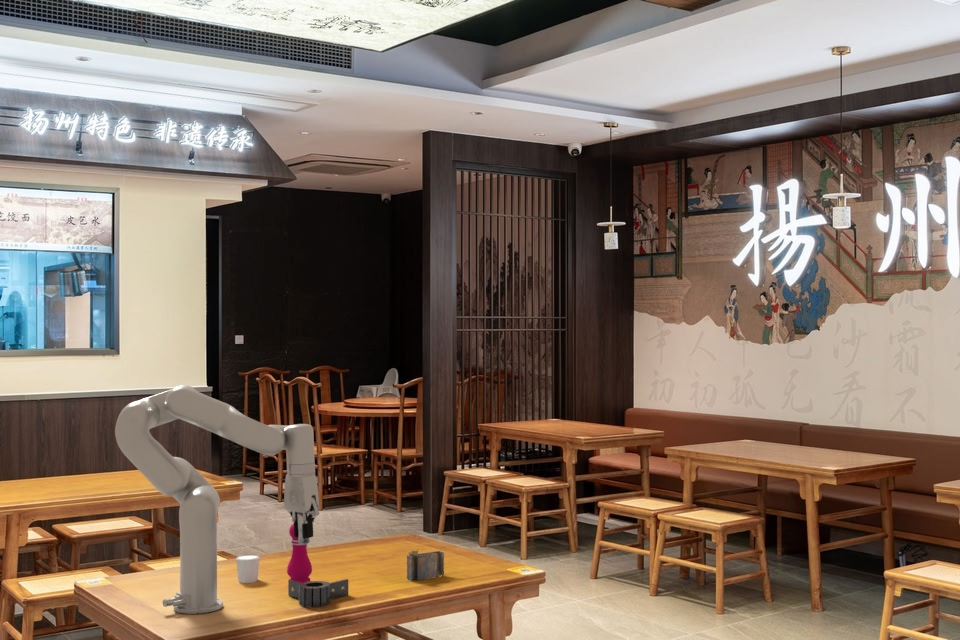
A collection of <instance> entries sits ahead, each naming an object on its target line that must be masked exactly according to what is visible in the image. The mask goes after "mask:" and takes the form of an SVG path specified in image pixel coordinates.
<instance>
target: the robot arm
mask: <svg viewBox="0 0 960 640" xmlns="http://www.w3.org/2000/svg"><path fill="white" fill-rule="evenodd" d="M176 420H182V422H183V421H184V422H187V423H189V424H191V425H194V426H196V427H199V428H201V429H203V430H206V431H208V432H211V433H213V434H215V435H218V436H219V437H221V438H224V439H227V440H229V441H231V442H233V443H236V444H238V445H240V446H242V447H244V448H247V449H249V450H251V451H255V452H256V453H260V454H262V455H265V456H274V455H275V456H276V455H277V454H279V453H280V452H281V451H283V450H285V452H286V453H285V454H286V456H285V457H286V475H285V479H284V491H283V492H284V493H283V494H284V496H283V497H284V501H283V503H284V505H283V506H284V509H285V510H286V512H287V513H289V515H290V517H291V521H292V523H294V537H298V518H297V513H303V522H304V524H302V534H303V539H306V538H313V537H314V522H315V519H316V517H318V516H319V515H320V511H319V508H320V507H319V506H320V505H319V503H320V501H319V499H320V498H319V487H318V481H317V476H316V464H315V460H316V459H315V441H314V440H315V439H314V437H315V436H314V427H313V426H312V425H311V424H308V423H297V424H296V423H295V424H291V425H285V424H284V425H283V424H268V425H267V424H264V423H263V422H260V421H258V420H256V419H253V418H251V417H249V416H247V415H245V414H243V413H242V412H240V411H239V410H238V409H236V408H235V407H234V406H232V405H230V404H229V403H227V402H223V401H221V400H219V399H216V398H213V397H211V396H208V395H206V394H204V393H202V392H200V391H197V390H196V389H195V387H192V386H190V385H186V384H184V385H183V384H182V385H178V386H175V387H173V388H171V389H168V390H166V391H163V392H160V393H157V394H153V395H151V396H148V397H144V398H141V399H139V400H135V401H132V402H129V403H128V404H127V405H125V407H123V408H122V410H121V411H120V413H119V415H118V417H117V420H116V423H115V427H114V428H115V429H114V435H115V440H116V443H117V446H118V448H119V449H120V451H121V452H122V453H123V455H124V456H125V457H126V458H127V459H128V461H130V462H131V463H132V464H133V466H134V467H135V468H136V469H137V470H138V471H139V472H140V473H141V474H142V475H143V477H145V478H146V480H147V481H148V482H150V483H151V485H152V486H153V487H154V488H155V489H156V491H158V493H160V494H161V495H164V496H167V497H172V498H173V499H174V500H175V501H177V503H178V504H179V509H178V510H179V511H178V522H179V543H180V544H179V553H180V555H179V561H180V562H179V563H180V564H179V567H180V568H179V569H180V570H179V575H180V576H179V581H180V582H179V583H180V584H179V589H180V590H179V591H178V592H176V595H174V596H173V597H169V598H165V599H163V600H162V606H163V607H165V608H167V607H171V606H172V607H173V611H175V612H176V611H177V612H176V613H179V612H180V613H179V614H185V613H186V614H185V615H187V614H188V615H198V614H197V613H199V614H206V613H210V612H211V613H212V612H214V611H218V610H220V609H222V608H223V605H224V601H223V600H222V599H220V598H218V524H217V523H218V522H217V521H218V519H217V518H218V517H217V516H218V511H219V508H220V505H221V499H220V495H219V493H218V491H217V490H216V489H215V487H214V486H213V485H212V484H211V483H210V482H209V481H208V480H207V479H206V478H205V477H204V476H203V475H202V474H201V473H200V472H199V471H198V470H197V469H196V468H195V467H194V466H193V465H192V464H191V463H190V462H189V461H187V460H186V459H184V458H182V457H178V456H173V455H172V454H170V453H169V452H168V451H167V449H165V447H164V446H163V445H162V444H161V443H160V442H159V441H158V440H156V439H155V438H154V436H153V435H152V434H151V431H150V430H151V429H153V428H156V427H159V426H162V425H165V424H167V423H170V422H173V421H176ZM307 514H309V515H308V517H307Z"/></svg>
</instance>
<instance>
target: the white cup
mask: <svg viewBox="0 0 960 640" xmlns="http://www.w3.org/2000/svg"><path fill="white" fill-rule="evenodd" d="M260 558H261V557H260V555H255V554H245V555H241V556H240V555H239V556H237V557H236V558H235V560H236V571H237V581H239V582H238V583H241V584H250V583H255V582H257V581H258V580H259V570H260Z"/></svg>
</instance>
